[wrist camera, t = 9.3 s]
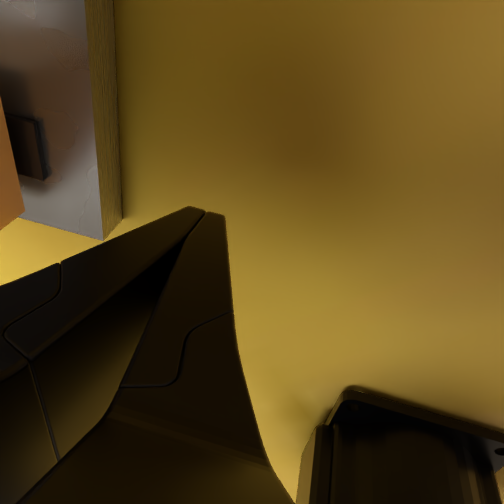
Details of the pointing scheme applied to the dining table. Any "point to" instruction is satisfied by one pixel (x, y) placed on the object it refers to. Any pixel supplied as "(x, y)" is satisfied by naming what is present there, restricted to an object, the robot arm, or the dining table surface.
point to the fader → (8, 178)
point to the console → (63, 111)
